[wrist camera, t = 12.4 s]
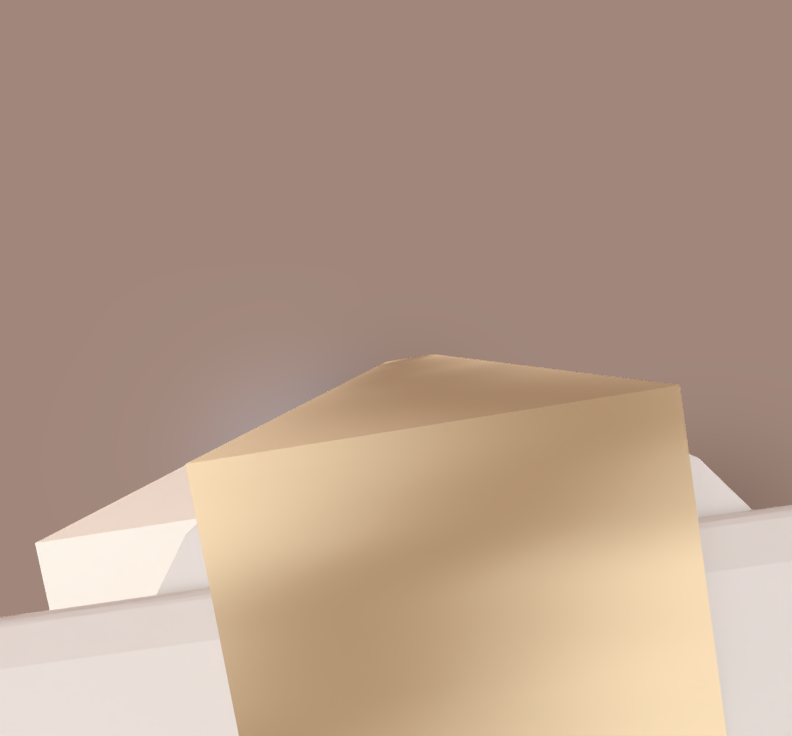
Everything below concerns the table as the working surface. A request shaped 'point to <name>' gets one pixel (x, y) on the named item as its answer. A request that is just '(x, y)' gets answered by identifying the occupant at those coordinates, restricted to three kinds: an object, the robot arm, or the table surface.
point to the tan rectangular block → (463, 559)
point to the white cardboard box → (119, 546)
